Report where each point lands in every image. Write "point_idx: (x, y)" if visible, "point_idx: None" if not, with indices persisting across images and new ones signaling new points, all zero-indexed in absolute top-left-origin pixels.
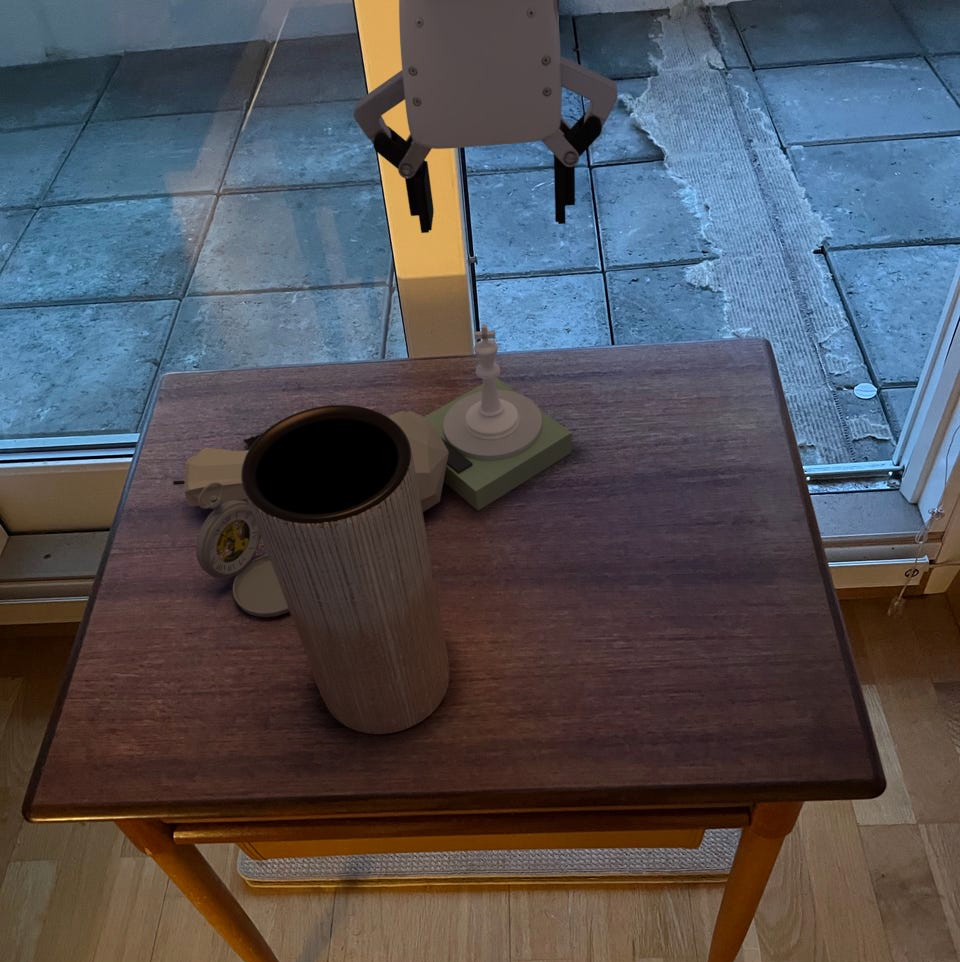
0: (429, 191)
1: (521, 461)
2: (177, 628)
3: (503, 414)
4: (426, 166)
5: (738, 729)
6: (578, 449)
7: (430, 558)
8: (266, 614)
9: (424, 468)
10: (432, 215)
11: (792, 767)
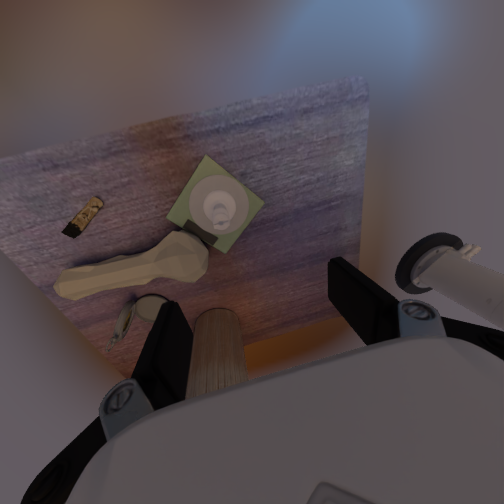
0: (175, 341)
1: (242, 230)
2: None
3: (228, 210)
4: (165, 373)
5: (325, 308)
6: (264, 196)
7: (246, 374)
8: None
9: (203, 273)
10: (182, 316)
11: (337, 313)
